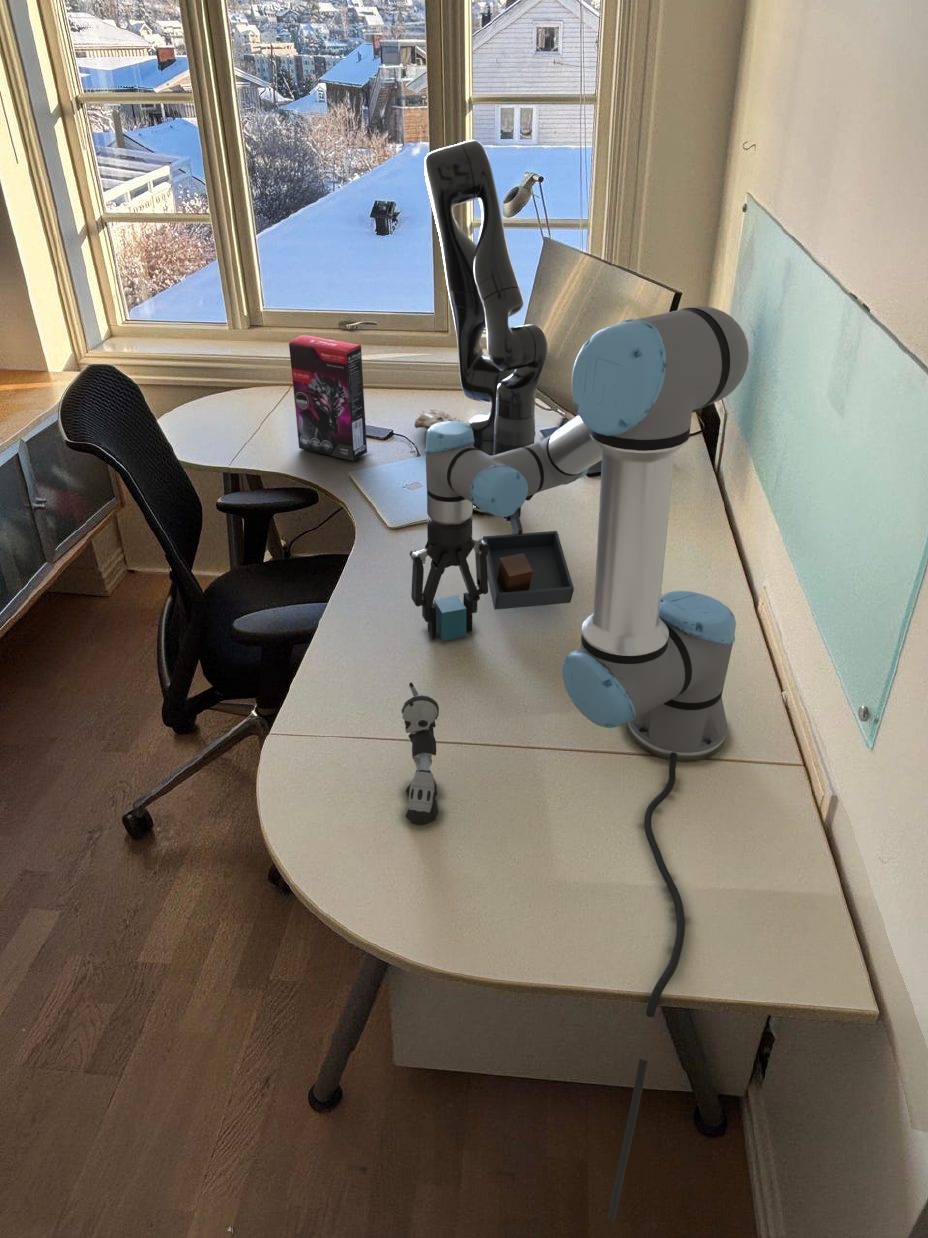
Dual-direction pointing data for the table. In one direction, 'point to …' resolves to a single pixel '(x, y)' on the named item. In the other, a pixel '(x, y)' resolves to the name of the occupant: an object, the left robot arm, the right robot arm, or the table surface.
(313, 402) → the graphics card box
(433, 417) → the stone
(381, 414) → the table surface
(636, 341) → the right robot arm
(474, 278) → the left robot arm
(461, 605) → the teal block
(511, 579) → the walnut block
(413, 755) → the robot
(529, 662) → the table surface
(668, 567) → the table surface
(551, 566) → the tray
